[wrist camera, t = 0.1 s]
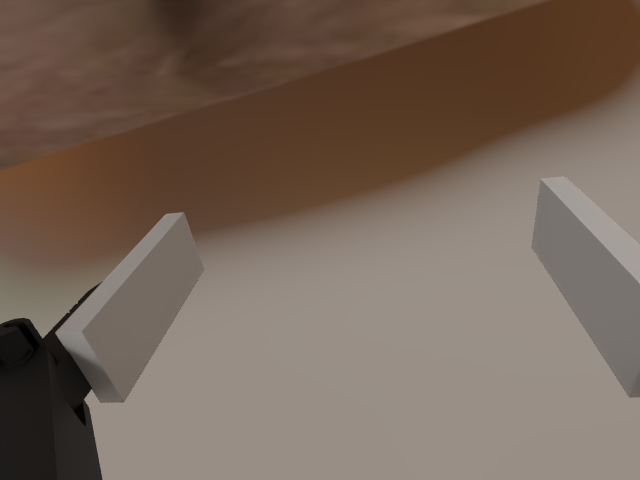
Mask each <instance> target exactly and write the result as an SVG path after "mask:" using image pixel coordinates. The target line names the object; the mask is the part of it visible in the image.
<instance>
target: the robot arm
mask: <svg viewBox="0 0 640 480" xmlns="http://www.w3.org/2000/svg"><path fill="white" fill-rule="evenodd" d="M532 248H533V250H534V252H535V253H536V255H537V256H538V258H539V259H540V261H541V262H542V264H543V265H544V267H545V268H546V270H547V271H548V273H549V275H550V276H551V278H552V279H553V281H554V282H555V284H556V285H557V287H558V288H559V290H560V292H561V293H562V295H563V296H564V298H565V299H566V301H567V302H568V304H569V305H570V307H571V308H572V310H573V311H574V313H575V315H576V316H577V318H578V319H579V321H580V322H581V324H582V325H583V327H584V328H585V330H586V332H587V333H588V335H589V336H590V337H591V339H592V341H593V342H594V344H595V345H596V347H597V348H598V350H599V352H600V353H601V355H602V356H603V358H604V359H605V361H606V362H607V364H608V365H609V367H610V368H611V370H612V372H613V373H614V374H615V376H616V378H617V379H618V381H619V382H620V384H621V385H622V387H623V388H624V390H625V391H626V393H627V395H628V396H629V397H640V245H639V244H638V243H637V242H636V241H635V240H634V239H633V238H632V237H631V236H630V235H628V234H627V233H626V232H625V231H624V230H623V229H622V228H621V227H620V226H619V225H618V224H616V223H615V222H614V221H613V220H612V219H611V218H610V217H609V216H608V215H607V214H606V213H604V212H603V211H602V210H601V209H600V208H599V207H598V206H597V205H596V204H595V203H594V202H592V201H591V200H590V199H589V198H588V197H587V196H586V195H585V194H584V193H583V192H581V191H580V190H579V189H578V188H577V187H576V186H575V185H574V184H572V182H571V181H570V180H568V179H567V178H566V177H556V178H544V179H541V181H540V189H539V196H538V203H537V211H536V218H535V226H534V233H533V240H532ZM203 270H204V267H203V265H202V262H201V259H200V256H199V253H198V251H197V248H196V245H195V242H194V239H193V237H192V234H191V231H190V228H189V226H188V223H187V220H186V217H185V214H184V212H182V213H171V214H165V216H164V217H163V218H162V219H161V220H160V221H159V222H158V223H157V224H156V225H155V226H154V227H153V229H152V230H151V231H150V232H149V233H148V234H147V235H146V236H145V237H144V238H143V239H142V240H141V241H140V243H138V245H137V246H136V247H135V248H134V249H133V250H132V251H131V252H130V253H129V254H128V255H127V257H125V258H124V259H123V261H122V262H121V263H120V264H119V265H118V266H117V267H116V268H115V269H114V270H113V271H112V272H111V273H110V275H109V276H108V277H107V278H106V279H105V280H104V281H103V282H101V283H100V284H98V285H97V286H95V287H94V288H92V289H91V290H89V291H88V292H87V293H86V294H85V295H84V296H83V297H82V298H81V299H80V300H79V301H78V304H75V305H74V306H73V308H72V309H71V310H70V313H67V314H66V315H65V316H64V317H63V318H62V319H61V320H60V321H59V322H58V323H57V324H56V325H55V326H54V327H53V329H52V330H51V331H50V332H49V333H48V334H47V335H46V336H45V337H44V338H43V339H42V337H41V336H40V334H39V333H38V331H37V330H36V329H35V327H34V325H33V324H32V322H31V321H30V320H29V319H26V318H19V319H13V320H10V321H7V322H4V323H2V324H0V480H102V475H101V469H100V464H99V459H98V453H97V448H96V443H95V437H94V431H93V426H92V421H91V415H90V411H89V407H88V405H87V404H86V402H85V401H84V398H85V397H86V396H87V394H88V393H89V392H90V390H91V389H92V390H93V392H94V393H95V395H96V397H97V398H98V400H99V401H100V402H101V403H103V402H104V403H105V402H124V401H125V400H126V398H127V396H128V395H129V393H130V391H131V390H132V388H133V387H134V385H135V383H136V381H137V380H138V378H139V377H140V375H141V373H142V372H143V370H144V368H145V367H146V365H147V363H148V362H149V360H150V358H151V357H152V355H153V353H154V352H155V350H156V349H157V347H158V345H159V343H160V342H161V340H162V339H163V337H164V335H165V334H166V332H167V330H168V329H169V327H170V325H171V324H172V322H173V320H174V319H175V317H176V315H177V314H178V312H179V310H180V309H181V307H182V305H183V304H184V302H185V300H186V299H187V297H188V296H189V294H190V292H191V291H192V289H193V287H194V285H195V284H196V282H197V281H198V279H199V277H200V276H201V274H202V272H203Z"/></svg>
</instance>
